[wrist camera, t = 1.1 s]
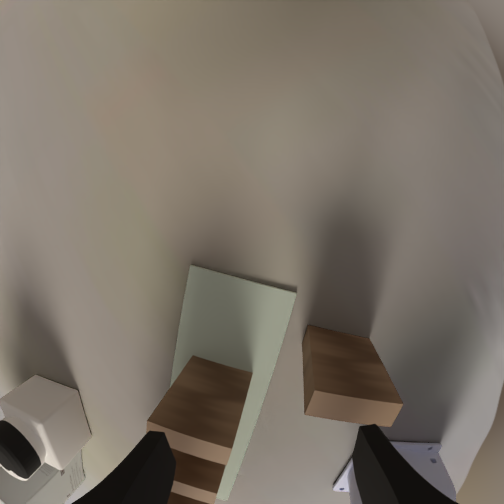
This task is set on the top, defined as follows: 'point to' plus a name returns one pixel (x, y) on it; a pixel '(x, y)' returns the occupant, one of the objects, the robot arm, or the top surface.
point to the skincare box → (43, 484)
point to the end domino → (346, 379)
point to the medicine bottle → (41, 427)
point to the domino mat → (233, 341)
